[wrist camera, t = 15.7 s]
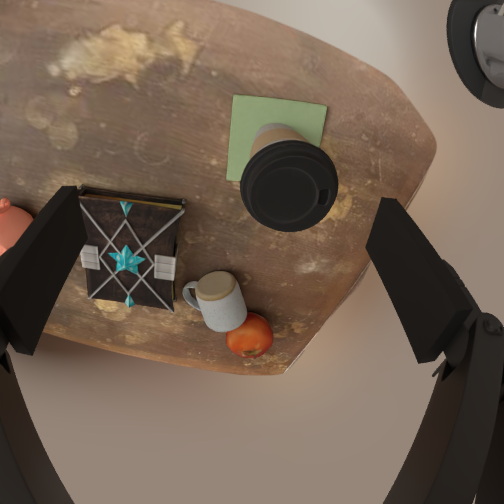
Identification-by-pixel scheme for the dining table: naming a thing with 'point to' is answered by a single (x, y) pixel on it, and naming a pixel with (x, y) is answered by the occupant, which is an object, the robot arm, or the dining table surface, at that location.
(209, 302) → the ceramic mug
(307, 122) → the sage mat
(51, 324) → the dining table surface
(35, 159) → the dining table surface
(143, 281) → the book
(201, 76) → the dining table surface
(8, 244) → the sugar bowl
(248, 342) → the tomato
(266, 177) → the coffee cup
